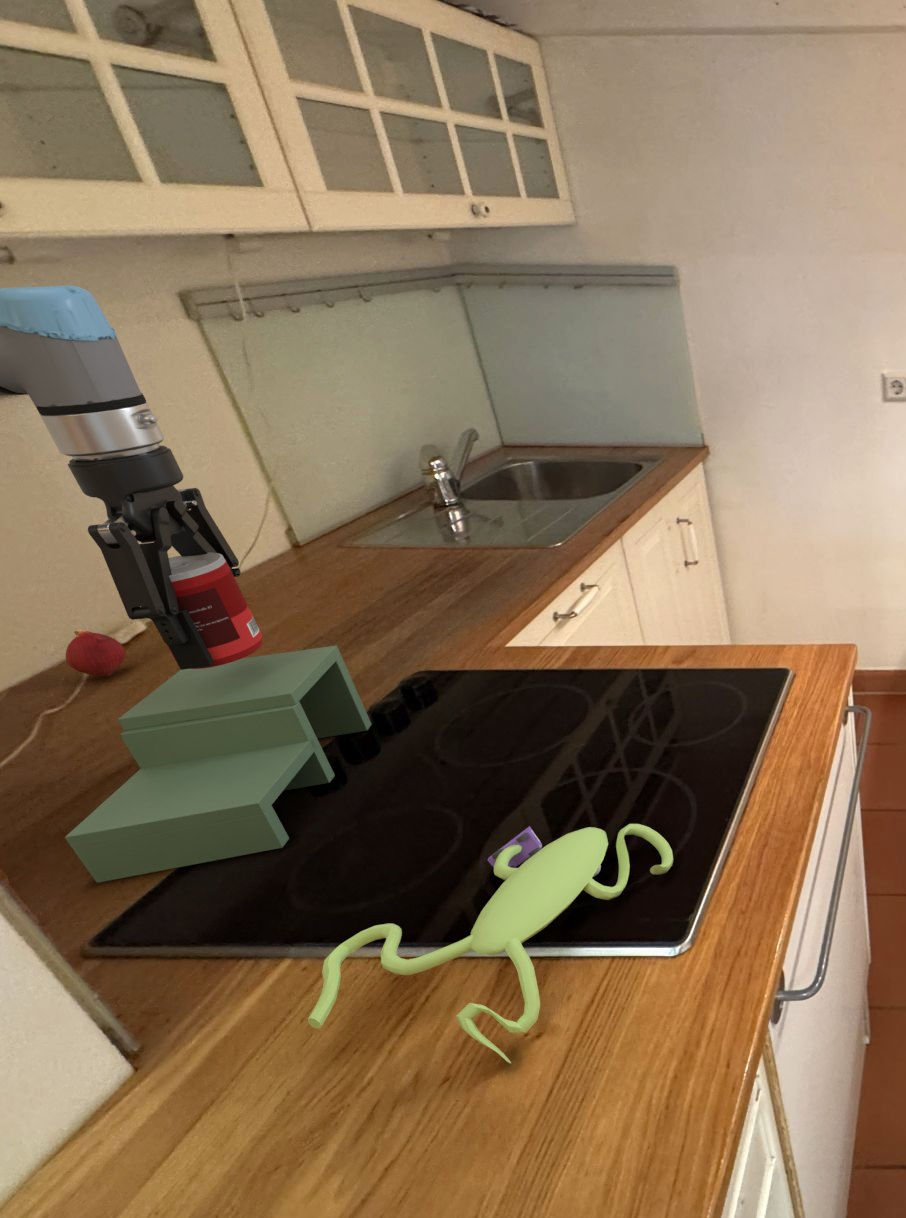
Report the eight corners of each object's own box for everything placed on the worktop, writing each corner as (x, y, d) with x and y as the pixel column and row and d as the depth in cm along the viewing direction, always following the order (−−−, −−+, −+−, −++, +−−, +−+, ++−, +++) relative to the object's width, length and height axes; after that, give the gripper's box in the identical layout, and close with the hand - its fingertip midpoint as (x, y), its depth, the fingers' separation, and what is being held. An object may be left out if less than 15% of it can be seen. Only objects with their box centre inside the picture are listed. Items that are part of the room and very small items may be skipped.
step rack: (96, 883, 77) (29, 787, 72) (229, 747, 98) (184, 666, 92) (282, 847, 81) (231, 754, 75) (372, 724, 101) (337, 645, 96)
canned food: (238, 634, 92) (195, 548, 87) (282, 642, 90) (240, 555, 85) (160, 664, 86) (110, 574, 81) (206, 675, 83) (156, 582, 78)
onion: (125, 663, 120) (98, 617, 116) (142, 670, 117) (115, 624, 114) (74, 681, 115) (44, 634, 111) (90, 689, 113) (61, 641, 109)
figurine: (294, 1043, 60) (264, 995, 58) (547, 819, 83) (533, 777, 81) (478, 1107, 55) (453, 1057, 53) (694, 850, 78) (683, 807, 76)
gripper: (90, 473, 69) (206, 687, 79) (219, 426, 87) (301, 606, 97) (-14, 482, 68) (118, 700, 77) (139, 433, 86) (231, 615, 95)
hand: (219, 648), depth 87 cm, fingers closed on canned food, 8 cm apart
